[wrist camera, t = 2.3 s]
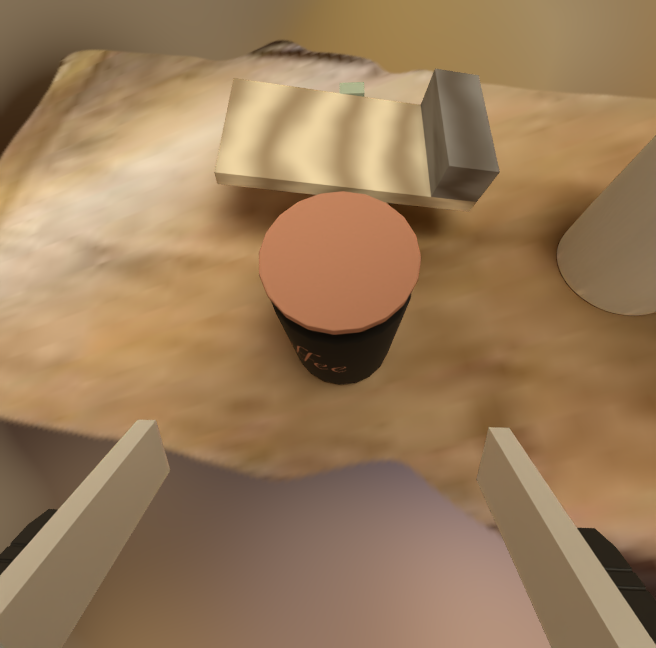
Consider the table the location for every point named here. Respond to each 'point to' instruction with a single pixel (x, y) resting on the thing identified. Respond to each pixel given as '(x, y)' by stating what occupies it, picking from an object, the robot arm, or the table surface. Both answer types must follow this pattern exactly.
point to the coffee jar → (340, 281)
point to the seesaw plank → (361, 143)
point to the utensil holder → (616, 242)
